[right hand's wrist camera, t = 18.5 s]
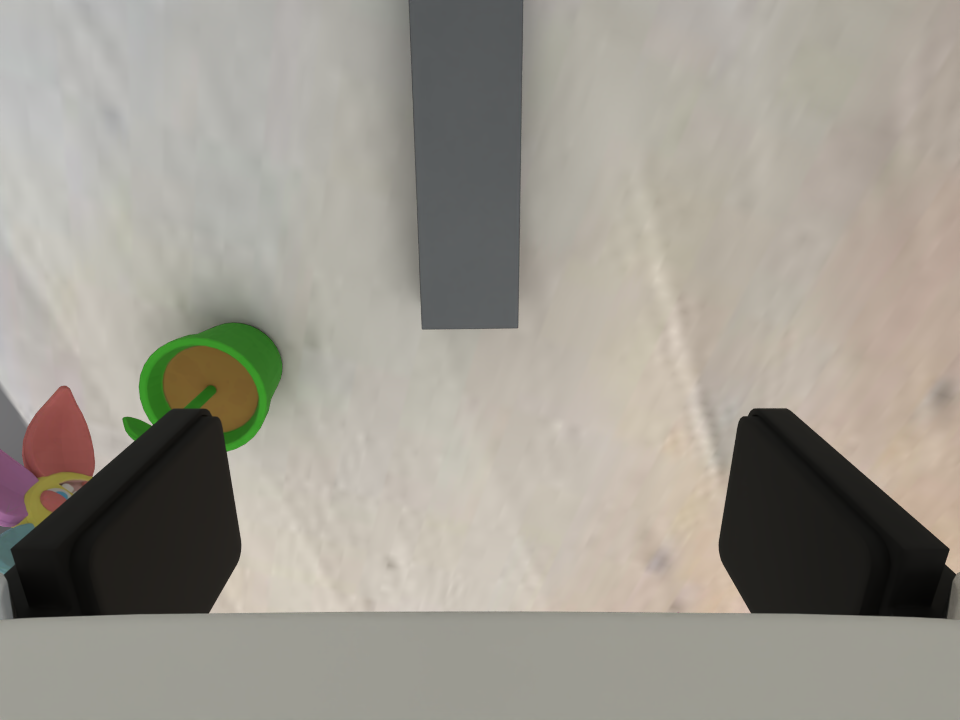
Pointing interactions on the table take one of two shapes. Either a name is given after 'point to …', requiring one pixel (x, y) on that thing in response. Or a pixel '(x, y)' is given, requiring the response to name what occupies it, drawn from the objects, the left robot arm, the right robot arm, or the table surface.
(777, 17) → the table surface
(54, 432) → the potted flower
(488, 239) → the post
